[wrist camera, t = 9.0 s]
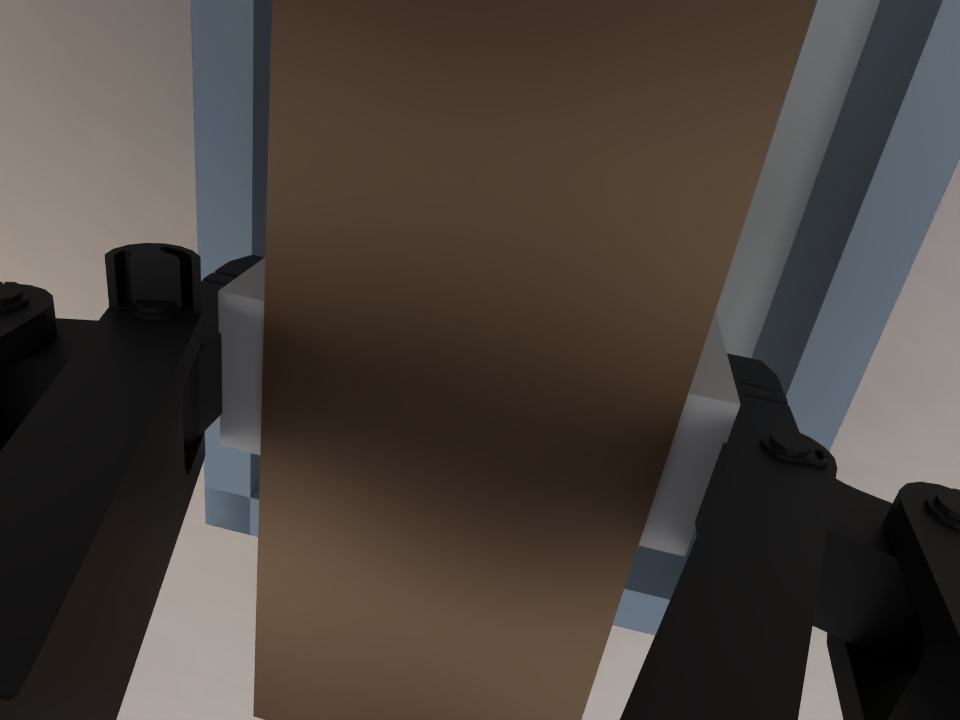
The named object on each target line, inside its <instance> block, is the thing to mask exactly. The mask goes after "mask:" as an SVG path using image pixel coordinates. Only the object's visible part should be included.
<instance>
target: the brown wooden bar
mask: <svg viewBox="0 0 960 720" xmlns="http://www.w3.org/2000/svg"><path fill="white" fill-rule="evenodd" d="M817 1H818V0H272V21H271V60H270V99H269V137H268V176H267V215H266V254H265V292H264V331H263V370H262V409H261V448H260V486H259V525H258V564H257V603H256V642H255V680H254V717H258V718H262V719H265V720H581V719H582V716H583V713H584V710H585V707H586V704H587V700H588V697H589V694H590V691H591V688H592V685H593V682H594V679H595V676H596V673H597V670H598V667H599V664H600V661H601V658H602V655H603V652H604V649H605V646H606V643H607V640H608V637H609V634H610V631H611V627H612V624H613V621H614V618H615V615H616V612H617V609H618V606H619V603H620V600H621V597H622V594H623V591H624V588H625V585H626V582H627V579H628V576H629V573H630V570H631V567H632V564H633V561H634V557H635V554H636V551H637V548H638V545H639V542H640V539H641V536H642V533H643V530H644V527H645V524H646V521H647V518H648V515H649V512H650V509H651V506H652V503H653V500H654V497H655V494H656V491H657V487H658V484H659V481H660V478H661V475H662V472H663V469H664V466H665V463H666V460H667V457H668V454H669V451H670V448H671V445H672V442H673V439H674V436H675V433H676V430H677V427H678V424H679V421H680V417H681V414H682V411H683V408H684V405H685V402H686V399H687V396H688V393H689V390H690V387H691V384H692V381H693V378H694V375H695V372H696V369H697V366H698V363H699V360H700V357H701V354H702V351H703V347H704V344H705V341H706V338H707V335H708V332H709V329H710V326H711V323H712V320H713V317H714V314H715V311H716V308H717V305H718V302H719V299H720V296H721V293H722V290H723V287H724V284H725V281H726V278H727V274H728V271H729V268H730V265H731V262H732V259H733V256H734V253H735V250H736V247H737V244H738V241H739V238H740V235H741V232H742V229H743V226H744V223H745V220H746V217H747V214H748V211H749V208H750V204H751V201H752V198H753V195H754V192H755V189H756V186H757V183H758V180H759V177H760V174H761V171H762V168H763V165H764V162H765V159H766V156H767V153H768V150H769V147H770V144H771V141H772V138H773V134H774V131H775V128H776V125H777V122H778V119H779V116H780V113H781V110H782V107H783V104H784V101H785V98H786V95H787V92H788V89H789V86H790V83H791V80H792V77H793V74H794V71H795V68H796V64H797V61H798V58H799V55H800V52H801V49H802V46H803V43H804V40H805V37H806V34H807V31H808V28H809V25H810V22H811V19H812V16H813V13H814V10H815V7H816V4H817Z"/></svg>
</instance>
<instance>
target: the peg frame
mask: <svg viewBox="0 0 960 720" xmlns="http://www.w3.org/2000/svg"><path fill="white" fill-rule="evenodd" d="M271 21H272V0H191V26H192V61H193V95H194V130H195V165H196V200H197V234H198V255H199V256H200V257H201V281H203V278H205V277H206V276H208V275H209V274H211V273H215V270H217V269H218V268H220V267H221V266H223V265H224V264H226V263H227V262H229V261H231V260H235V259H239V258H242V257H246V256H249V255H256V256H261V257H265V254H266V215H267V176H268V137H269V99H270V60H271ZM959 159H960V0H818V1H817V4H816V7H815V10H814V13H813V16H812V19H811V22H810V25H809V28H808V31H807V34H806V37H805V40H804V43H803V46H802V49H801V52H800V55H799V58H798V61H797V64H796V68H795V71H794V74H793V77H792V80H791V83H790V86H789V89H788V92H787V95H786V98H785V101H784V104H783V107H782V110H781V113H780V116H779V119H778V122H777V125H776V128H775V131H774V134H773V138H772V141H771V144H770V147H769V150H768V153H767V156H766V159H765V162H764V165H763V168H762V171H761V174H760V177H759V180H758V183H757V186H756V189H755V192H754V195H753V198H752V201H751V204H750V208H749V211H748V214H747V217H746V220H745V223H744V226H743V229H742V232H741V235H740V238H739V241H738V244H737V247H736V250H735V253H734V256H733V259H732V262H731V265H730V268H729V271H728V274H727V278H726V281H725V284H724V287H723V290H722V293H721V296H720V299H719V302H718V305H717V308H716V315H717V319H718V323H719V326H720V330H721V334H722V338H723V341H724V345H725V349H726V352H727V353H729V354H733V355H738V356H743V357H748V358H752V359H757V360H761V361H762V362H763V363H765V364H766V365H767V366H768V367H769V368H770V369H771V370H772V371H773V372H774V373H775V374H776V375H777V376H778V378H779V380H780V383H781V385H782V388H783V390H784V391H783V393H784V394H785V396H786V398H787V401H788V406H790V409H791V411H792V414H793V416H794V419H795V422H796V424H797V427H798V429H799V432H800V433H802V434H804V435H806V436H808V437H811V438H812V439H814V440H815V441H816V442H818V443H819V444H821V445H822V446H824V447H825V448H826V449H827V450H828V451H829V450H830V448H831V446H832V444H833V441H834V439H835V437H836V435H837V432H838V430H839V428H840V426H841V423H842V421H843V419H844V417H845V414H846V412H847V410H848V408H849V405H850V403H851V401H852V399H853V397H854V394H855V392H856V390H857V388H858V385H859V383H860V381H861V379H862V376H863V374H864V372H865V370H866V367H867V365H868V363H869V361H870V358H871V356H872V354H873V352H874V349H875V347H876V345H877V343H878V340H879V338H880V336H881V334H882V331H883V329H884V327H885V325H886V322H887V320H888V318H889V316H890V313H891V311H892V309H893V307H894V305H895V302H896V300H897V298H898V296H899V293H900V291H901V289H902V287H903V284H904V282H905V280H906V278H907V275H908V273H909V271H910V269H911V266H912V264H913V262H914V260H915V257H916V255H917V253H918V251H919V248H920V246H921V244H922V242H923V239H924V237H925V235H926V233H927V230H928V228H929V226H930V224H931V221H932V219H933V217H934V215H935V212H936V210H937V208H938V206H939V204H940V201H941V199H942V197H943V195H944V192H945V190H946V188H947V186H948V183H949V181H950V179H951V177H952V174H953V172H954V170H955V168H956V165H957V163H958V161H959ZM204 478H205V512H206V524H208V525H212V526H217V527H221V528H225V529H229V530H233V531H237V532H241V533H245V534H249V535H253V536H257V537H258V525H259V486H260V455H257V454H253V453H249V452H244V451H240V450H236V449H232V448H228V447H223V446H220V416H219V417H218V418H217V419H216V420H215V421H214V422H213V423H212V424H211V425H210V426H209V427H208V428H207V429H206V430H205V458H204ZM696 537H697V535H696V528H695V531H694V534H693V537H692V539H691V542H690V545H689V548H688V550H687V553H686V556H681V555H677V554H672V553H668V552H664V551H660V550H656V549H652V548H647V547H643V546H639V545H638V548H637V551H636V554H635V557H634V561H633V564H632V567H631V570H630V573H629V576H628V579H627V582H626V585H625V588H624V591H623V594H622V597H621V600H620V603H619V606H618V609H617V612H616V615H615V618H614V621H613V624H612V625H615V626H619V627H623V628H627V629H631V630H635V631H639V632H643V633H647V634H651V635H656V633H657V630H658V628H659V625H660V623H661V621H662V618H663V616H664V613H665V611H666V609H667V606H668V604H669V601H670V599H671V597H672V594H673V592H674V590H675V587H676V585H677V582H678V580H679V578H680V575H681V573H682V570H683V568H684V566H685V563H686V561H687V559H688V556H689V554H690V551H691V549H692V547H693V544H694V542H695V539H696Z"/></svg>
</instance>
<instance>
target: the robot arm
mask: <svg viewBox="0 0 960 720" xmlns="http://www.w3.org/2000/svg"><path fill="white" fill-rule="evenodd" d="M105 264H106V275H107V286H108V298H109V308H108V309H107V310H106V312H105V313H104V314H103V315H102V317H101V318H100V319H99V321H94V320H77V319H60V318H55V310H54V302H53V295H51V294H50V293H49V292H48V291H46V290H45V289H42V288H38V287H35V286H32V285H23V284H18V283H16V282H5V283H4V284H3V283H2V282H0V720H116V719H117V716H118V713H119V710H120V707H121V704H122V701H123V698H124V695H125V692H126V689H127V686H128V683H129V680H130V677H131V674H132V671H133V668H134V665H135V662H136V660H137V657H138V654H139V651H140V648H141V645H142V642H143V639H144V636H145V633H146V630H147V627H148V624H149V621H150V618H151V615H152V612H153V609H154V606H155V603H156V600H157V597H158V594H159V591H160V588H161V585H162V583H163V580H164V577H165V574H166V571H167V568H168V565H169V562H170V559H171V556H172V553H173V550H174V547H175V544H176V541H177V538H178V535H179V532H180V529H181V526H182V523H183V520H184V517H185V514H186V511H187V508H188V506H189V503H190V500H191V497H192V494H193V491H194V488H195V485H196V482H197V479H198V476H199V473H200V470H201V467H202V464H203V461H204V458H205V430H206V429H207V428H208V427H209V426H210V425H211V424H212V423H213V422H214V421H215V420H216V419H217V418H218V417H219V416H220V446H223V447H228V448H232V449H236V450H240V451H244V452H249V453H253V454H257V455H260V448H261V409H262V370H263V331H264V292H265V257H261V256H256V255H249V256H246V257H242V258H239V259H235V260H231V261H229V262H227V263H226V264H224V265H223V266H221V267H220V268H218V269H217V270H215V273H211V274H209V275H208V276H206V277H205V278H203V281H201V257H200V256H199V255H198V254H196V253H195V252H194V251H192V250H189V249H187V248H184V247H181V246H176V245H170V244H162V243H141V244H132V245H126V246H122V247H119V248H115V249H113V250H111V251H110V252H108V253H106V254H105ZM783 391H784V390H783V388H782V385H781V383H780V380H779V378H778V376H777V375H776V374H775V373H774V372H773V371H772V370H771V369H770V368H769V367H768V366H767V365H766V364H765V363H763V362H762V361H761V360H757V359H752V358H748V357H743V356H738V355H733V354H729V353H727V352H726V349H725V345H724V341H723V338H722V334H721V330H720V326H719V323H718V319H717V315H716V311H715V314H714V317H713V320H712V323H711V326H710V329H709V332H708V335H707V338H706V341H705V344H704V347H703V351H702V354H701V357H700V360H699V363H698V366H697V369H696V372H695V375H694V378H693V381H692V384H691V387H690V390H689V393H688V396H687V399H686V402H685V405H684V408H683V411H682V414H681V417H680V421H679V424H678V427H677V430H676V433H675V436H674V439H673V442H672V445H671V448H670V451H669V454H668V457H667V460H666V463H665V466H664V469H663V472H662V475H661V478H660V481H659V484H658V487H657V491H656V494H655V497H654V500H653V503H652V506H651V509H650V512H649V515H648V518H647V521H646V524H645V527H644V530H643V533H642V536H641V539H640V542H639V546H643V547H647V548H652V549H656V550H660V551H664V552H668V553H672V554H677V555H681V556H686V553H687V550H688V548H689V545H690V542H691V539H692V537H693V534H694V531H695V528H696V535H697V537H696V539H695V542H694V544H693V547H692V549H691V551H690V554H689V556H688V559H687V561H686V563H685V566H684V568H683V570H682V573H681V575H680V578H679V580H678V582H677V585H676V587H675V590H674V592H673V594H672V597H671V599H670V601H669V604H668V606H667V609H666V611H665V613H664V616H663V618H662V621H661V623H660V625H659V628H658V630H657V633H656V635H655V637H654V640H653V642H652V644H651V647H650V649H649V652H648V654H647V656H646V659H645V661H644V664H643V666H642V668H641V671H640V673H639V675H638V678H637V680H636V683H635V685H634V687H633V690H632V692H631V695H630V697H629V699H628V702H627V704H626V706H625V709H624V711H623V714H622V716H621V718H620V720H798V715H799V709H800V702H801V696H802V690H803V683H804V677H805V670H806V664H807V658H808V651H809V645H810V638H811V632H812V626H815V627H817V628H819V629H821V630H823V631H826V632H827V646H828V651H829V656H830V660H831V665H832V669H833V674H834V678H835V683H836V687H837V692H838V697H839V701H840V706H841V710H842V715H843V719H844V720H960V490H958V489H950V488H948V487H945V486H942V485H938V484H932V483H926V482H915V483H907V484H906V485H905V486H903V487H902V488H901V489H900V490H899V492H898V494H897V496H896V498H895V500H894V502H893V504H892V503H890V502H887V501H885V500H882V499H880V498H877V497H875V496H872V495H870V494H867V493H865V492H862V491H860V490H857V489H855V488H853V487H851V486H849V485H847V484H844V483H843V482H841V481H839V480H838V479H836V472H837V466H836V462H835V458H834V457H833V456H832V455H831V453H830V452H829V451H828V450H827V449H826V448H825V447H824V446H822V445H821V444H819V443H818V442H816V441H815V440H814V439H812V438H811V437H808V436H806V435H804V434H802V433H800V432H799V429H798V427H797V424H796V422H795V419H794V416H793V414H792V411H791V409H790V406H788V401H787V398H786V396H785V394H784V393H783Z"/></svg>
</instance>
